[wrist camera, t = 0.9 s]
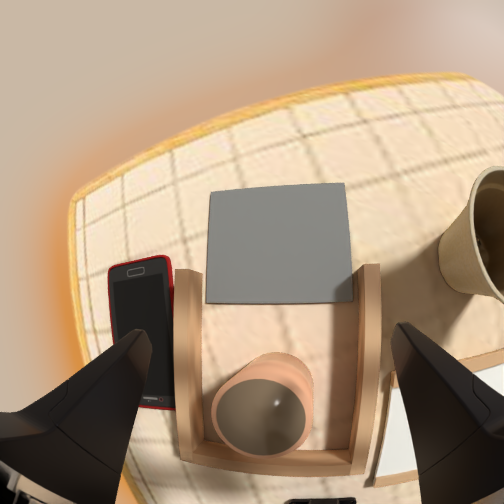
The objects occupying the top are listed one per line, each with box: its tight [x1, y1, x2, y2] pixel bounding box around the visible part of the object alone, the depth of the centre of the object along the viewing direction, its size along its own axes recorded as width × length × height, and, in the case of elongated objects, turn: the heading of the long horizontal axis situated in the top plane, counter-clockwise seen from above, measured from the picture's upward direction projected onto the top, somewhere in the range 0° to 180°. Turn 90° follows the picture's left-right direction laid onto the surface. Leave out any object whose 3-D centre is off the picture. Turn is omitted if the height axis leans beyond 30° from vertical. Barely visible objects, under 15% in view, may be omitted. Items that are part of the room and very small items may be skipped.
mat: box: [206, 183, 353, 303], centre depth 22 cm, size 10×12×1 cm
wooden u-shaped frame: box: [174, 264, 381, 477], centre depth 19 cm, size 17×15×3 cm
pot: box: [211, 352, 313, 459], centre depth 17 cm, size 6×6×7 cm
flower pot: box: [438, 166, 504, 304], centre depth 14 cm, size 9×9×9 cm
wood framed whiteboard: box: [373, 348, 504, 488], centre depth 15 cm, size 17×12×1 cm
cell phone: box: [108, 255, 176, 410], centre depth 23 cm, size 8×15×1 cm, turn 9°
